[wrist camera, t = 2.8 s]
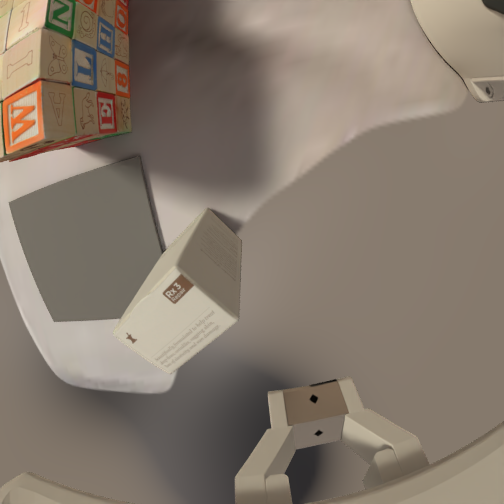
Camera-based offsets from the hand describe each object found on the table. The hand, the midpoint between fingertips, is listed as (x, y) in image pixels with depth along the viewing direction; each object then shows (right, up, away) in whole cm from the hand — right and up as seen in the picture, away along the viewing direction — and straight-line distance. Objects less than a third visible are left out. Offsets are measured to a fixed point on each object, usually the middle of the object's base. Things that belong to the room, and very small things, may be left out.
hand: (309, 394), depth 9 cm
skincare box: (-6, +6, +15) cm, 18 cm away
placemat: (-19, +5, +15) cm, 25 cm away
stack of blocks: (-16, +25, +7) cm, 30 cm away
